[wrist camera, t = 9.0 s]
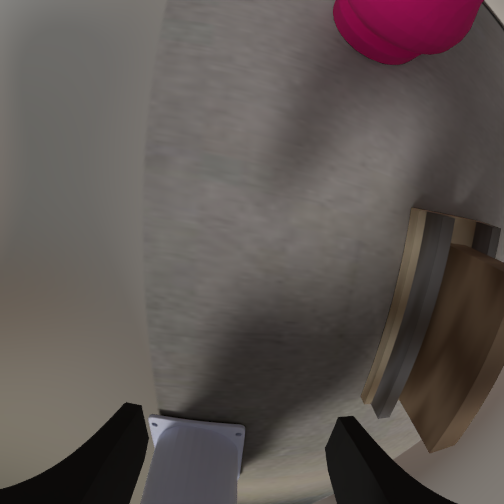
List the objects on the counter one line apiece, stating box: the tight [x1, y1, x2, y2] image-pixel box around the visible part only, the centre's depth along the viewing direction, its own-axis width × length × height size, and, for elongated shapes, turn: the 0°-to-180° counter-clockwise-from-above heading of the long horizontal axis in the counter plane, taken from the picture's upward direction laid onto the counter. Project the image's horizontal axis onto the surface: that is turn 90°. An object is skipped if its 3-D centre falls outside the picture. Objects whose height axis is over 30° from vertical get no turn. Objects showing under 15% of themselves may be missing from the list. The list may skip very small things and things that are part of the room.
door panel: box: [399, 243, 504, 453], centre depth 14 cm, size 12×3×7 cm, turn 175°
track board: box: [361, 207, 501, 419], centre depth 17 cm, size 15×7×3 cm, turn 175°
